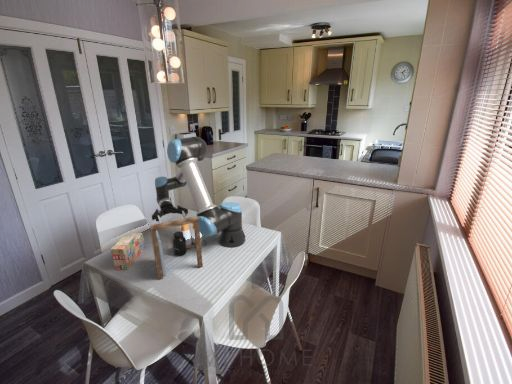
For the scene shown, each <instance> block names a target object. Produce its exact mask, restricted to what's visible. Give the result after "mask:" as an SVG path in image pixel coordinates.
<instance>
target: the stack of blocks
mask: <svg viewBox="0 0 512 384" xmlns="http://www.w3.org/2000/svg"><path fill="white" fill-rule="evenodd" d="M145 248H146V243H145V237H144V233H143V232H131V233H130V235H128V236H125V235H124V236H122V237H121V238H120V239H119V240H118V241H117V242H116V243H115V244H114V245H112V247H111V248H110V251H111V252H110V253H111V256H112V257H111V259H112V262H113V266H114V270H115V271H129V269H130V268H131V267H132V266H133V264H134V263H135V262H136V260H137V259H138V257H139V256H140V255H141V253H142V252H143V251H144V250H145Z"/></svg>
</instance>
